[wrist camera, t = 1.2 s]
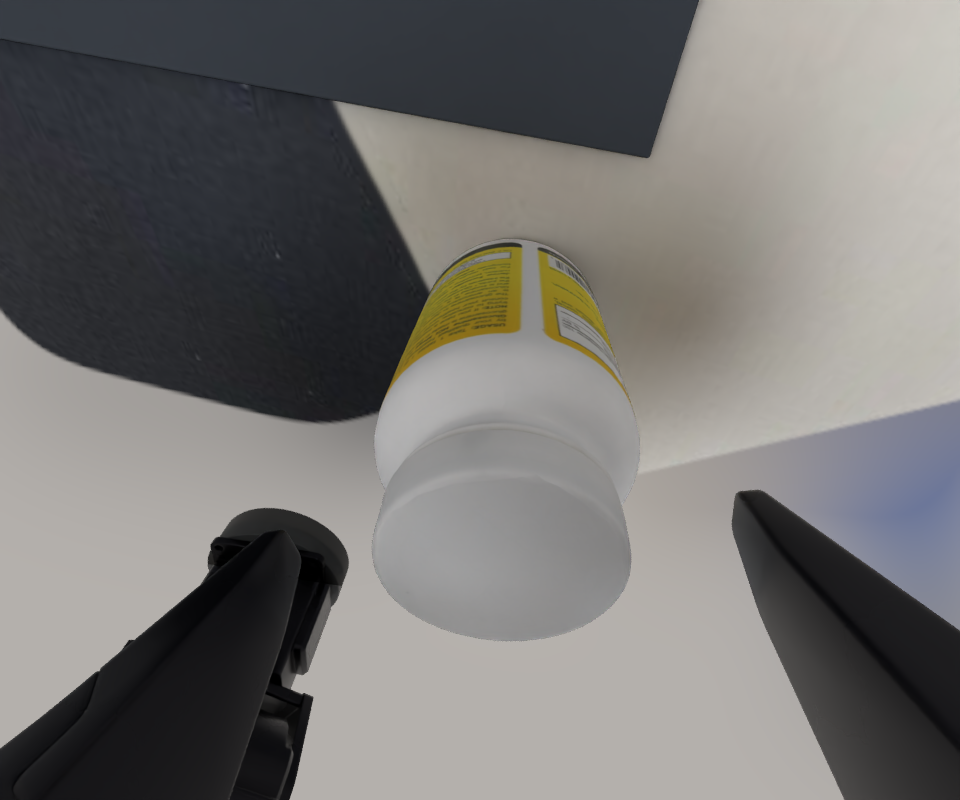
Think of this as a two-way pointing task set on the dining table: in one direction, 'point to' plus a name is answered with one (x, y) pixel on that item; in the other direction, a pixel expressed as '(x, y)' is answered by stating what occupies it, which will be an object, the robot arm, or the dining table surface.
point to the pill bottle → (506, 452)
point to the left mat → (406, 55)
